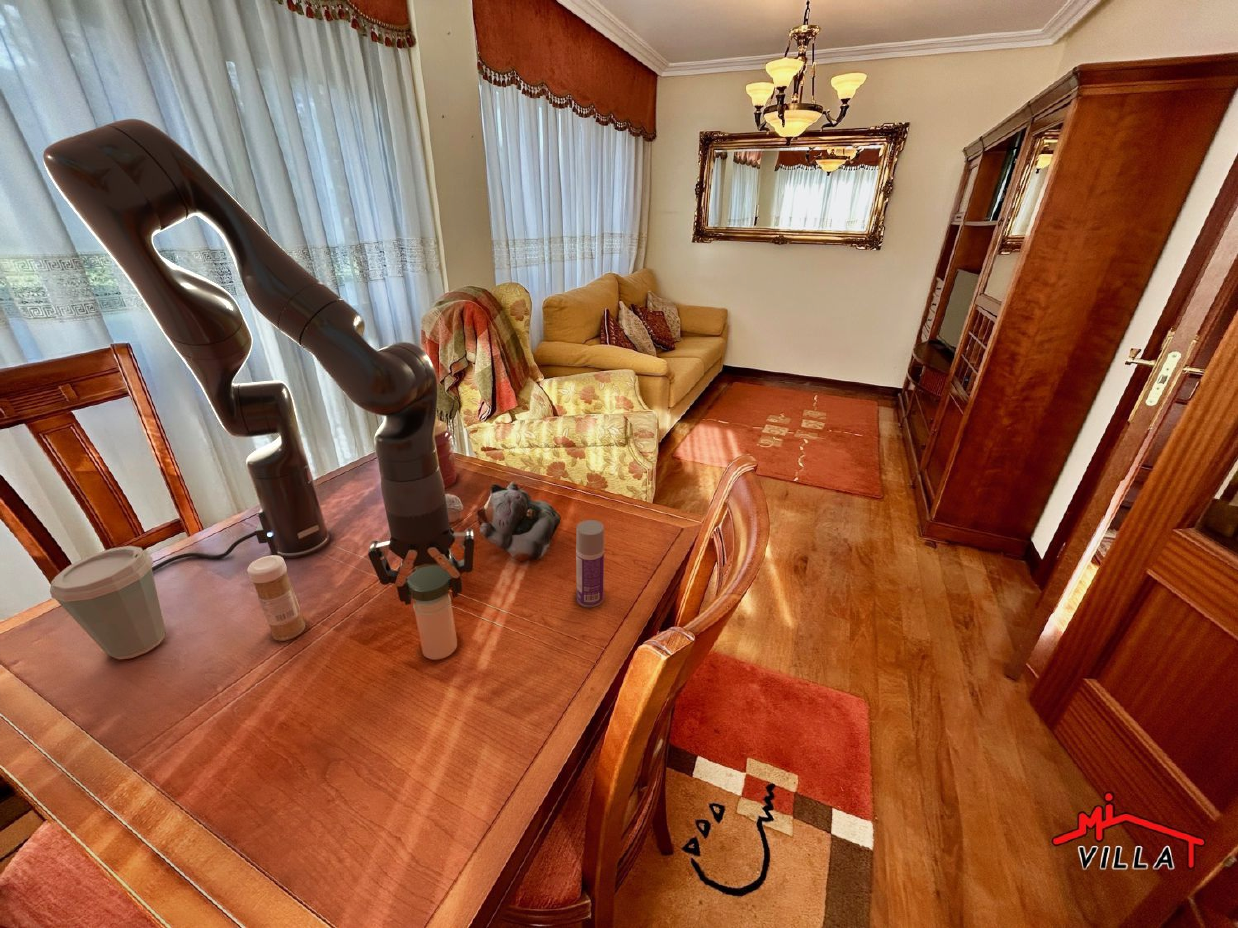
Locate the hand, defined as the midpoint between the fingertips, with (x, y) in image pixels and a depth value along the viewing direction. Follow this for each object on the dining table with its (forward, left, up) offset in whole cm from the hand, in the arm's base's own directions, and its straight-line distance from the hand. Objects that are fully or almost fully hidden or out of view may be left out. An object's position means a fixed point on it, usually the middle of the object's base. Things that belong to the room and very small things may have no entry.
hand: (432, 596), depth 73 cm
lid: (0, 0, +3) cm, 3 cm away
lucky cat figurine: (+15, +24, -10) cm, 30 cm away
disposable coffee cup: (-44, +12, -10) cm, 47 cm away
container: (+25, +5, -10) cm, 27 cm away
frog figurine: (+1, +36, -10) cm, 37 cm away
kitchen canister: (-4, +56, -10) cm, 57 cm away
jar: (0, 0, -10) cm, 10 cm away
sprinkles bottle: (-23, +9, -10) cm, 27 cm away
